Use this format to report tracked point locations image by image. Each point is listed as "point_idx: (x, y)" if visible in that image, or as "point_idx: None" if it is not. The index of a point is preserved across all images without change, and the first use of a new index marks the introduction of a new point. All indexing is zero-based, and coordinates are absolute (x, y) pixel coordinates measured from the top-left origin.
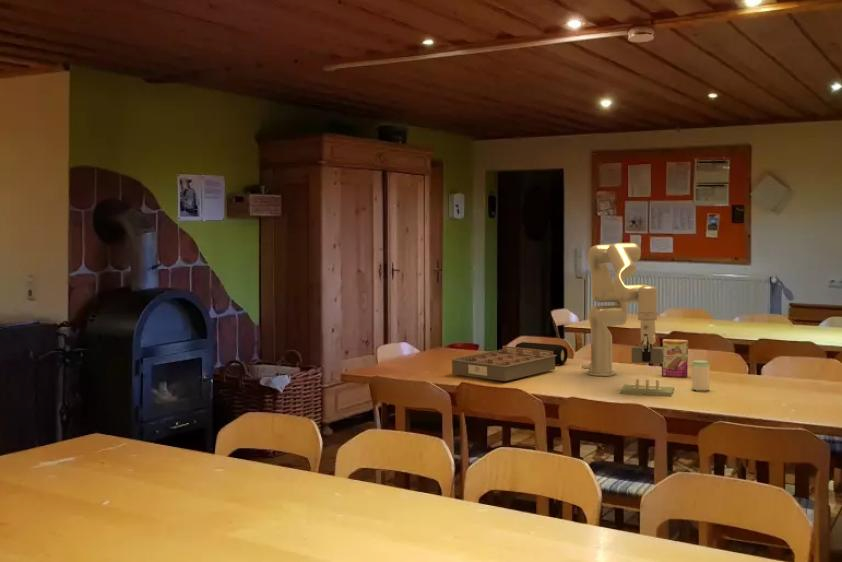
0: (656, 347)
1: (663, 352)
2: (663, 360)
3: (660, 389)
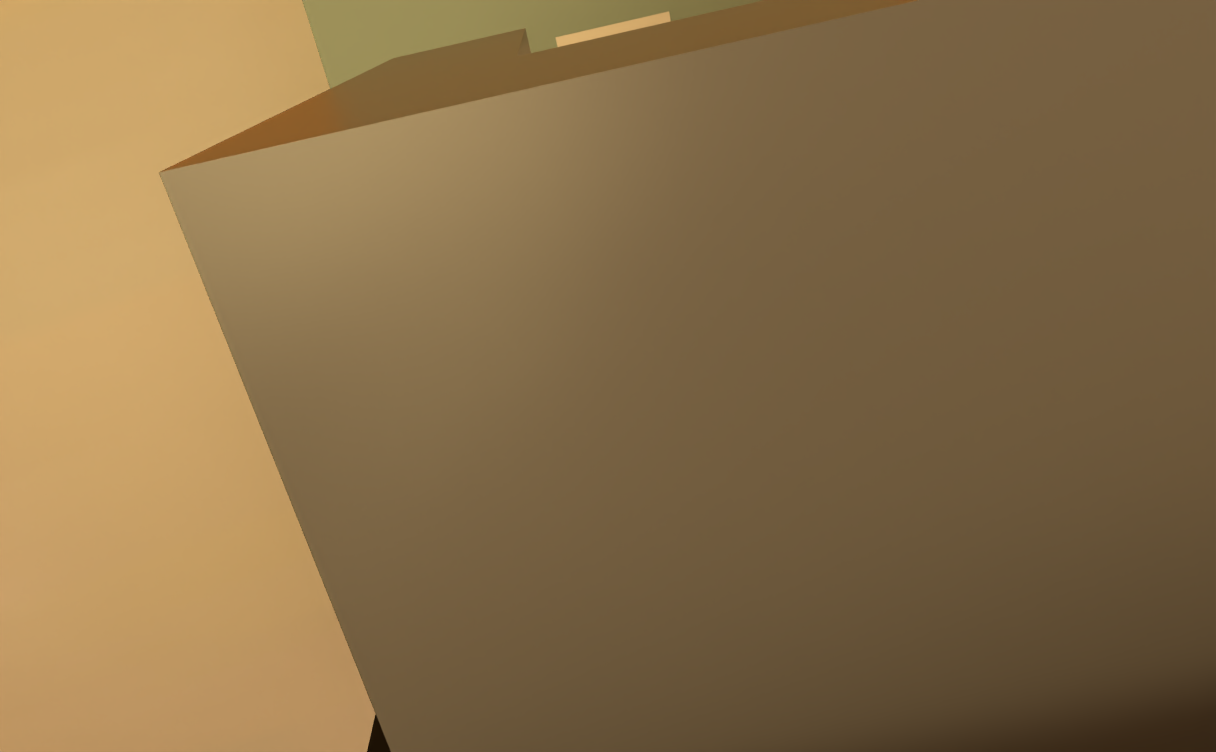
0: (820, 613)
1: (400, 81)
2: (450, 47)
3: (662, 20)
